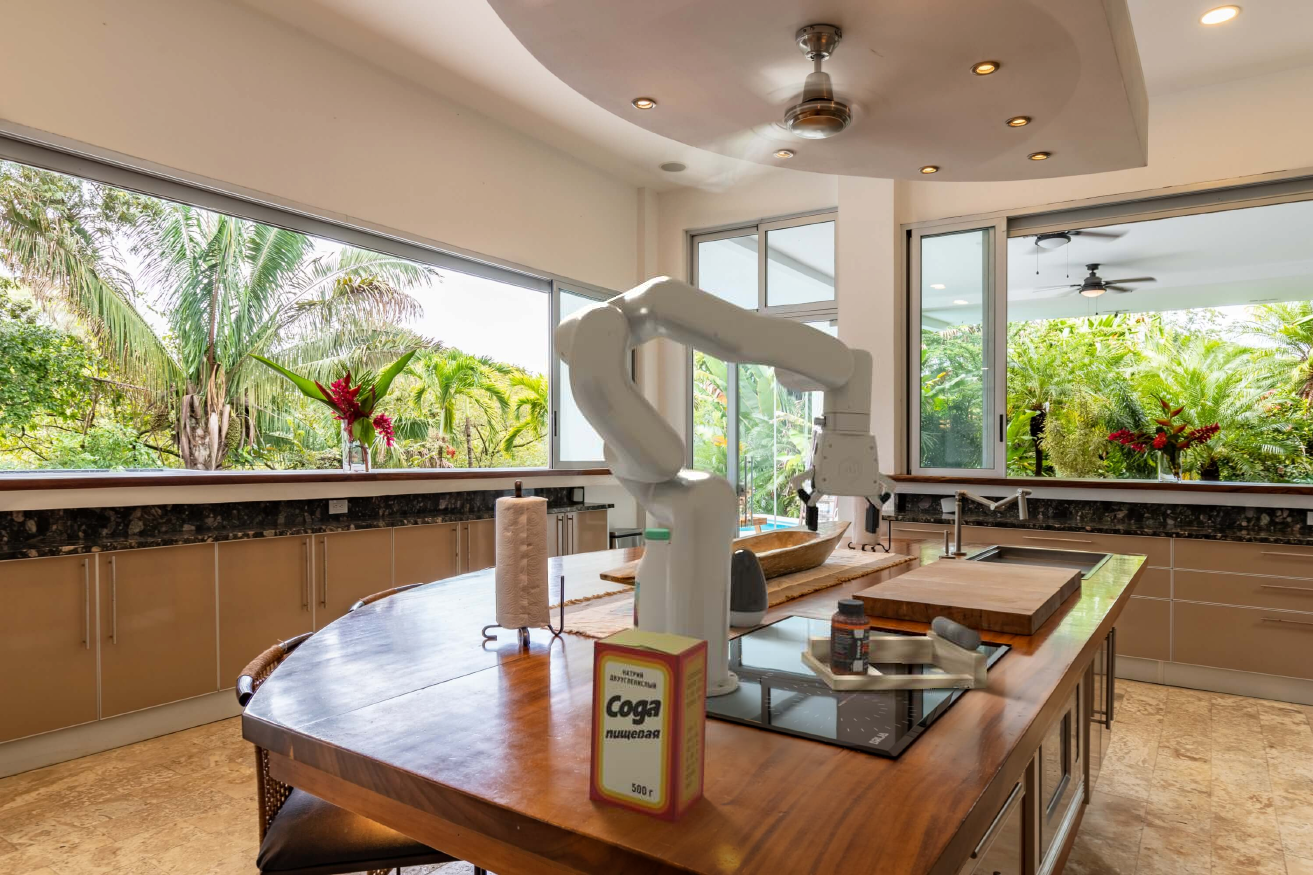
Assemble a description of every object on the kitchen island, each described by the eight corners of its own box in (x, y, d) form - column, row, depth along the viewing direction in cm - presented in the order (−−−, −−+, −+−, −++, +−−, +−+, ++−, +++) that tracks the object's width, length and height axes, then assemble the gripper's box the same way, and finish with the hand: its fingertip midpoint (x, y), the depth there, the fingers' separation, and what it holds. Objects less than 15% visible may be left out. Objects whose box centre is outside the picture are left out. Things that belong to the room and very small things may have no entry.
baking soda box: (589, 798, 75) (594, 637, 76) (622, 774, 81) (626, 624, 81) (674, 823, 71) (679, 651, 71) (703, 795, 77) (707, 637, 77)
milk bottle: (683, 639, 138) (686, 529, 138) (661, 648, 132) (664, 533, 132) (648, 632, 142) (651, 526, 143) (624, 641, 136) (627, 529, 136)
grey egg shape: (716, 617, 157) (718, 543, 157) (767, 620, 156) (769, 546, 156) (713, 628, 147) (715, 550, 147) (767, 632, 146) (770, 552, 146)
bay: (833, 689, 112) (835, 635, 112) (801, 660, 127) (802, 612, 127) (989, 687, 115) (990, 635, 115) (940, 659, 130) (941, 612, 130)
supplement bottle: (869, 680, 116) (871, 606, 116) (829, 676, 118) (831, 603, 118) (867, 669, 122) (868, 598, 122) (829, 665, 123) (831, 596, 124)
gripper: (800, 422, 118) (795, 532, 118) (907, 427, 120) (903, 536, 120) (787, 424, 126) (783, 527, 126) (888, 428, 127) (884, 531, 127)
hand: (841, 531), depth 123 cm, fingers open, 9 cm apart
